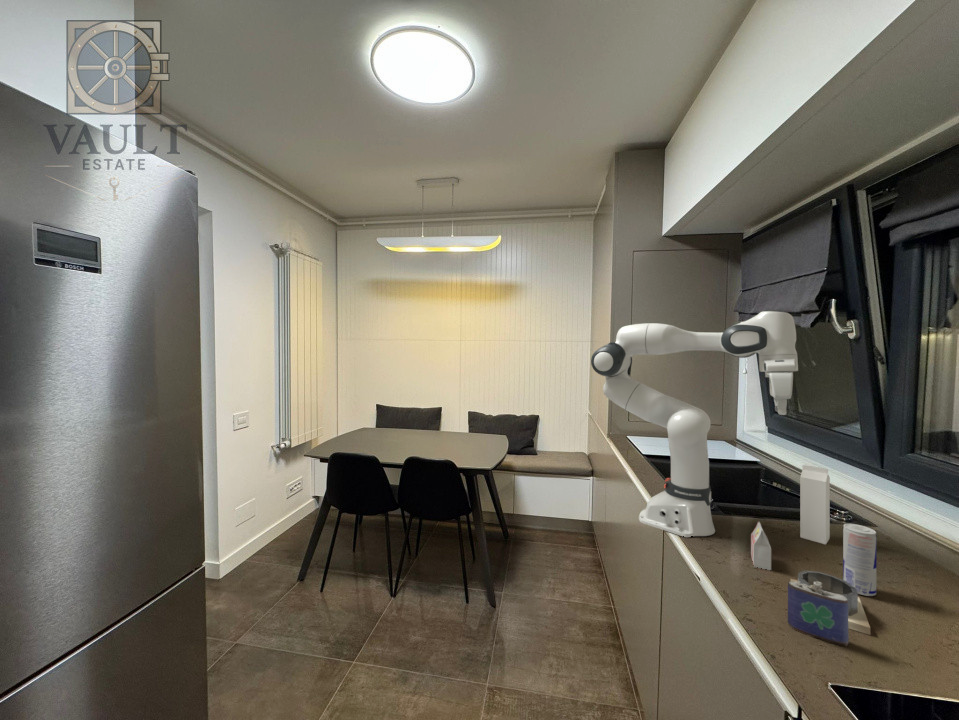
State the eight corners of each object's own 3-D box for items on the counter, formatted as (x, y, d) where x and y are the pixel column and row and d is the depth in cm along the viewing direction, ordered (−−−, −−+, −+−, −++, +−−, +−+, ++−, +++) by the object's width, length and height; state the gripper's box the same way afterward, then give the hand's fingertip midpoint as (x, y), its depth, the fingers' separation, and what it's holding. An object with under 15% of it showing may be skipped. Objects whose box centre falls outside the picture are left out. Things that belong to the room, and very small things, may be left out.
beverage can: (883, 599, 87) (883, 534, 87) (854, 596, 88) (854, 532, 88) (864, 584, 93) (864, 523, 92) (837, 582, 94) (837, 522, 94)
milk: (826, 545, 112) (826, 471, 112) (799, 537, 117) (800, 466, 116) (829, 538, 116) (830, 467, 116) (804, 531, 121) (804, 462, 120)
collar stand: (792, 611, 83) (792, 586, 83) (790, 584, 93) (790, 562, 93) (870, 635, 76) (870, 608, 76) (859, 603, 85) (859, 579, 85)
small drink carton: (767, 558, 105) (767, 522, 105) (771, 570, 99) (771, 532, 99) (750, 555, 107) (750, 520, 107) (753, 566, 101) (753, 529, 101)
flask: (847, 641, 75) (847, 587, 74) (849, 650, 72) (849, 594, 72) (787, 620, 80) (787, 570, 80) (787, 628, 78) (787, 577, 78)
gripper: (763, 366, 120) (765, 410, 120) (766, 365, 104) (769, 415, 103) (788, 365, 117) (791, 410, 116) (796, 364, 100) (799, 416, 99)
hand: (780, 413), depth 109 cm, fingers open, 8 cm apart
